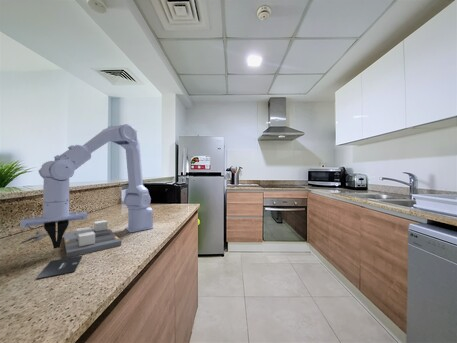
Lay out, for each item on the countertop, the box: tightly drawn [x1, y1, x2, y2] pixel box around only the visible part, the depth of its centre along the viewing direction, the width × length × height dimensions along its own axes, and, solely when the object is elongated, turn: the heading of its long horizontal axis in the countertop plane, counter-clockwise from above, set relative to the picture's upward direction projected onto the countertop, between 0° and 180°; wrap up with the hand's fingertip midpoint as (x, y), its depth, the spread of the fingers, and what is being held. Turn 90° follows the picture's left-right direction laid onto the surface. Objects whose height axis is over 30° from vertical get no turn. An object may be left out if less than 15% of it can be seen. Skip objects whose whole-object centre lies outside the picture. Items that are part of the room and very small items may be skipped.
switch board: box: [63, 227, 122, 258], centre depth 68 cm, size 14×23×2 cm, turn 43°
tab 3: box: [93, 219, 109, 231], centre depth 76 cm, size 4×4×3 cm
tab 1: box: [75, 226, 93, 240], centre depth 67 cm, size 4×4×3 cm
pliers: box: [21, 225, 71, 244], centre depth 76 cm, size 10×1×20 cm
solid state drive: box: [36, 255, 83, 281], centre depth 50 cm, size 7×10×1 cm
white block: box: [78, 232, 95, 247], centre depth 62 cm, size 4×4×3 cm
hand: (56, 247), depth 57 cm, fingers closed
